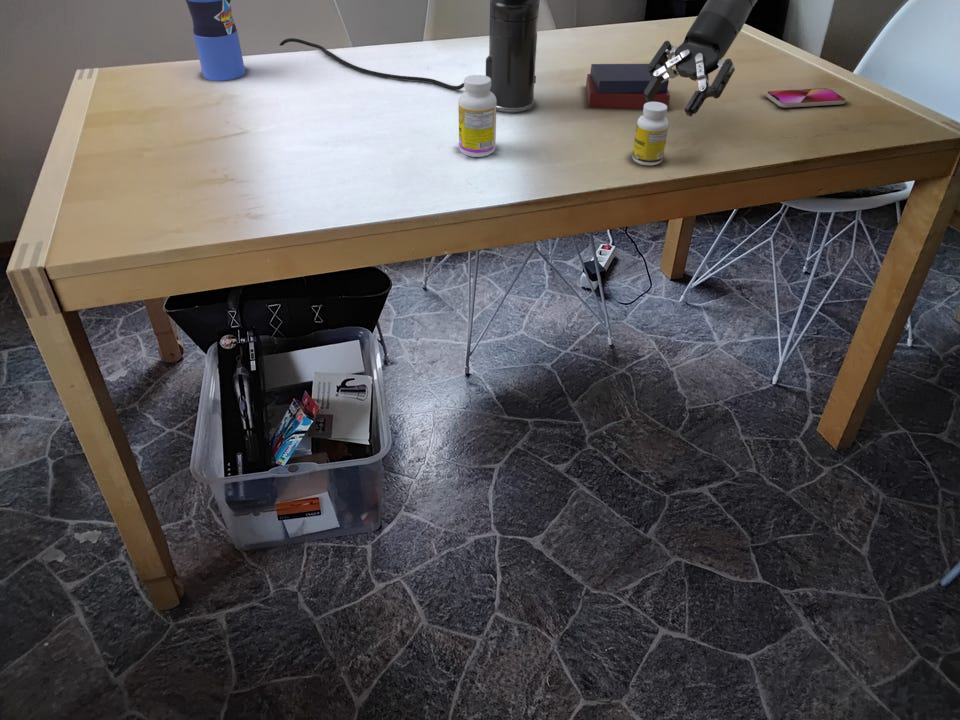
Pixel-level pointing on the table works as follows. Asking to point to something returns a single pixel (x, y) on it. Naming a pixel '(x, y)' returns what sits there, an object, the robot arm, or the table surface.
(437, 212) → the table surface
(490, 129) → the supplement bottle
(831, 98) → the smartphone
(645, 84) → the book stack
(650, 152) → the supplement bottle
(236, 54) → the water bottle
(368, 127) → the table surface
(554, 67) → the table surface
